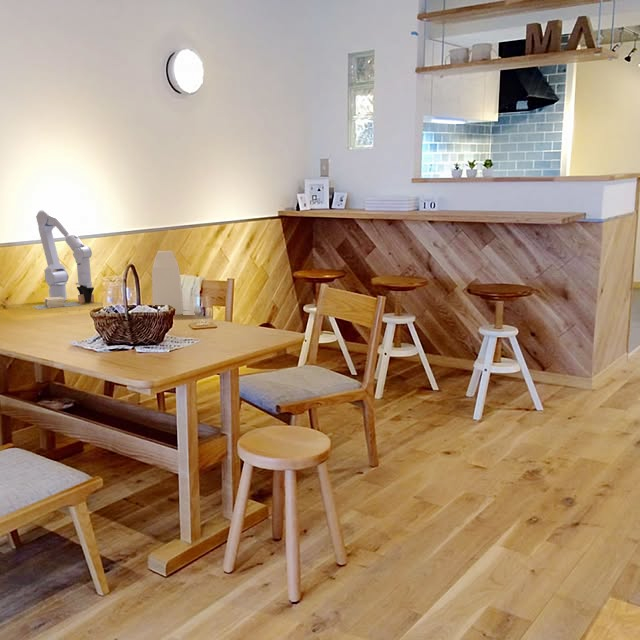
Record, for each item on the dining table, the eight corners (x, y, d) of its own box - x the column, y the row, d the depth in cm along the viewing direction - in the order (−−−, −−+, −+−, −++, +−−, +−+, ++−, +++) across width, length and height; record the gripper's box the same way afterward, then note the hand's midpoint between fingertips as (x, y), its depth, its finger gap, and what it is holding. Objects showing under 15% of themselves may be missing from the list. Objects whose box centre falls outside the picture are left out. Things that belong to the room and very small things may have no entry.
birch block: (45, 305, 330) (44, 298, 329) (61, 304, 333) (60, 296, 333) (48, 307, 324) (47, 299, 323) (64, 306, 328) (64, 298, 327)
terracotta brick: (78, 305, 340) (77, 294, 340) (91, 304, 344) (91, 293, 343) (81, 306, 337) (80, 295, 336) (94, 305, 340) (93, 294, 339)
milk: (152, 315, 303) (148, 252, 299) (155, 311, 314) (151, 250, 310) (182, 314, 304) (178, 251, 300) (183, 310, 316) (180, 249, 311)
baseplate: (32, 309, 330) (31, 306, 330) (75, 305, 340) (74, 302, 340) (38, 312, 319) (37, 309, 319) (82, 308, 329) (82, 305, 329)
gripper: (70, 272, 341) (73, 301, 344) (79, 274, 329) (82, 304, 332) (86, 271, 345) (88, 299, 348) (95, 273, 333) (97, 302, 336)
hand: (86, 302), depth 340 cm, fingers open, 5 cm apart
